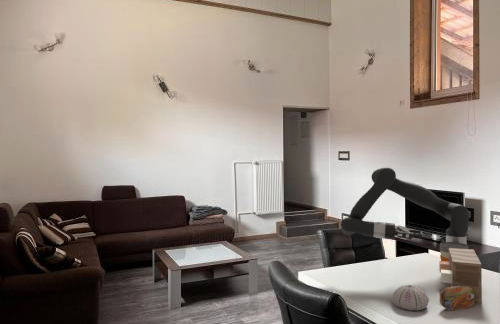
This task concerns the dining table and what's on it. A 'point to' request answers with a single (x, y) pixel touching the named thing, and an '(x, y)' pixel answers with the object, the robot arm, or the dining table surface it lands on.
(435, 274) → the dining table surface
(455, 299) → the tin
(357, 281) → the dining table surface
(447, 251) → the reusable coffee cup
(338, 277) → the dining table surface
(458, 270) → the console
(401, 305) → the sea urchin shell
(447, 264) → the terracotta key
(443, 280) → the cream key
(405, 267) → the dining table surface
